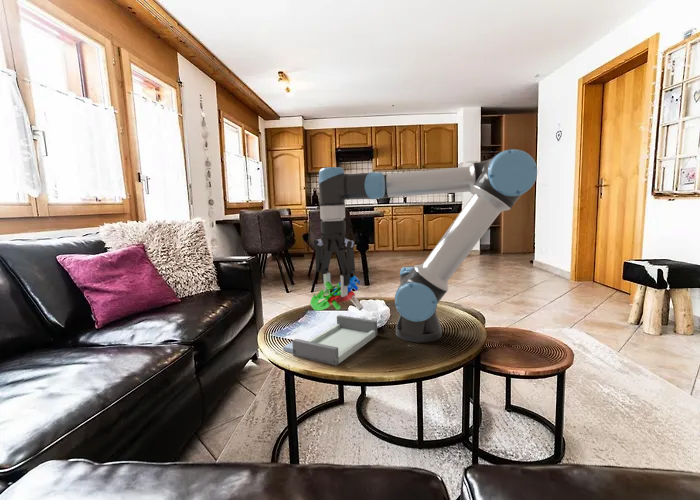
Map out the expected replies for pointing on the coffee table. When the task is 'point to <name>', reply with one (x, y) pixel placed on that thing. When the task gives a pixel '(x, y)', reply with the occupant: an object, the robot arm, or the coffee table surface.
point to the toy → (336, 296)
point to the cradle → (337, 340)
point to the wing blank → (289, 347)
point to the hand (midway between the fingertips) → (335, 294)
